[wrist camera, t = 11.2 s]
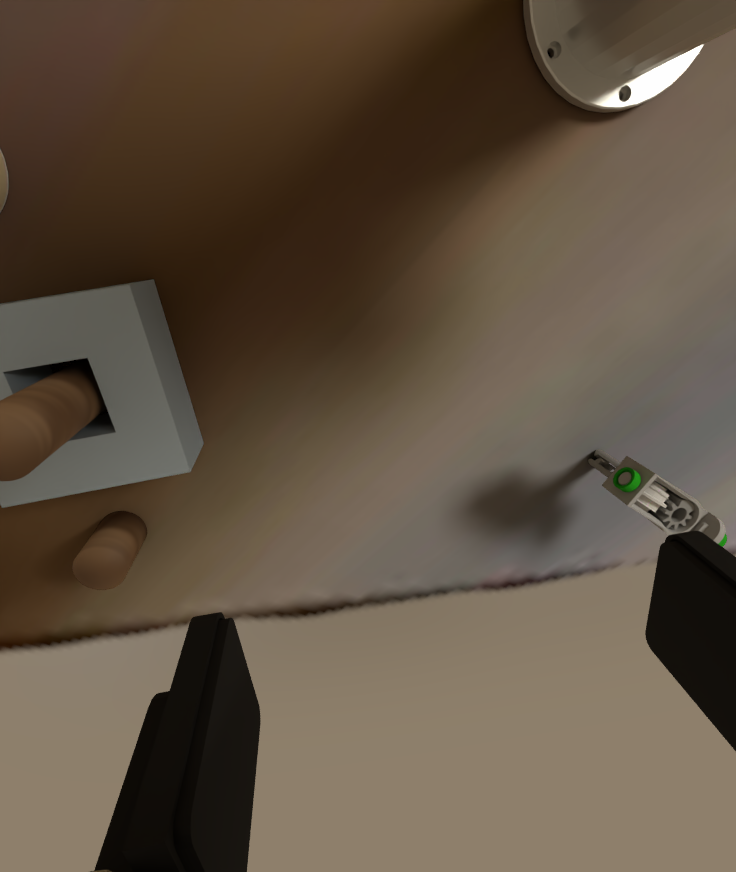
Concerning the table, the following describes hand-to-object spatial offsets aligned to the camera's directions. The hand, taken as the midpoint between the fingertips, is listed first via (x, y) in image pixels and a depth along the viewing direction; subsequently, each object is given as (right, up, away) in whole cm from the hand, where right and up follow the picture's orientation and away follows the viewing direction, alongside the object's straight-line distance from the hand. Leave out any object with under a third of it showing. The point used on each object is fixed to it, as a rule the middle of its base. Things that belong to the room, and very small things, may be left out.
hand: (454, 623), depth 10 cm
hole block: (-21, +8, +23) cm, 32 cm away
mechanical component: (+18, +2, +31) cm, 36 cm away
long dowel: (-21, +8, +23) cm, 32 cm away
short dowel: (-21, -3, +27) cm, 35 cm away
